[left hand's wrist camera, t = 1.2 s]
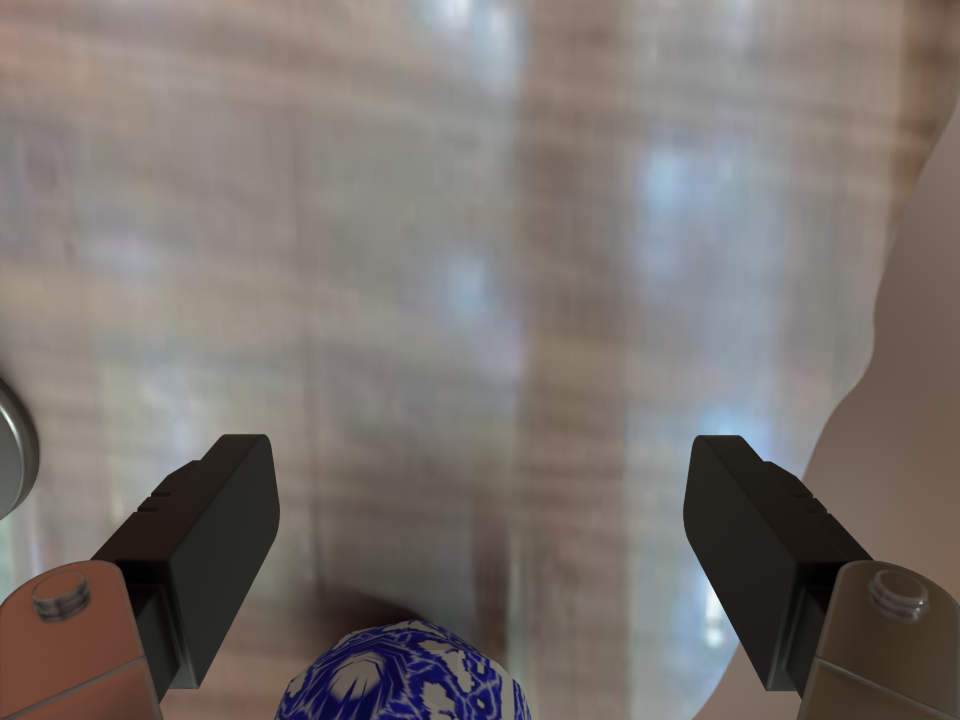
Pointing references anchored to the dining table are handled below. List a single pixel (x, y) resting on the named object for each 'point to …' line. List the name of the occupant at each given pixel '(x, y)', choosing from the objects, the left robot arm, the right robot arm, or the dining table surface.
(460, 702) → the ornament
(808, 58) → the dining table surface
